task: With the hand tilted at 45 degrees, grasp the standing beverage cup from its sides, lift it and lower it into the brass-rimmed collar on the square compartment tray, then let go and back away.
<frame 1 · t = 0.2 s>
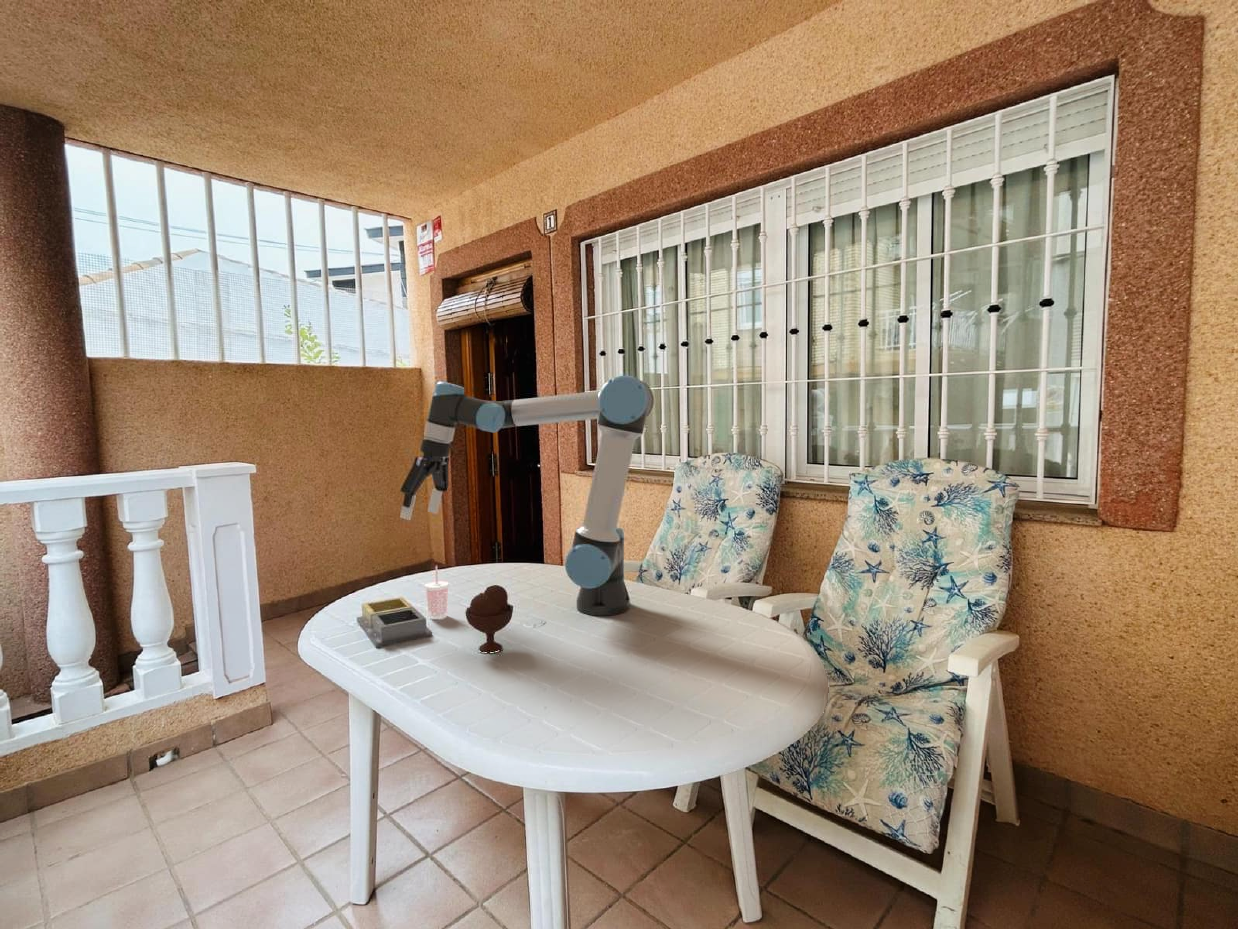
hand: (419, 515, 157), 27 cm above the table, tool tilted 15°, fingers open, 13 cm apart
beverage cup: (437, 617, 156), on the table
square compartment tray: (393, 628, 148), on the table
ice cream bowl: (490, 650, 134), on the table
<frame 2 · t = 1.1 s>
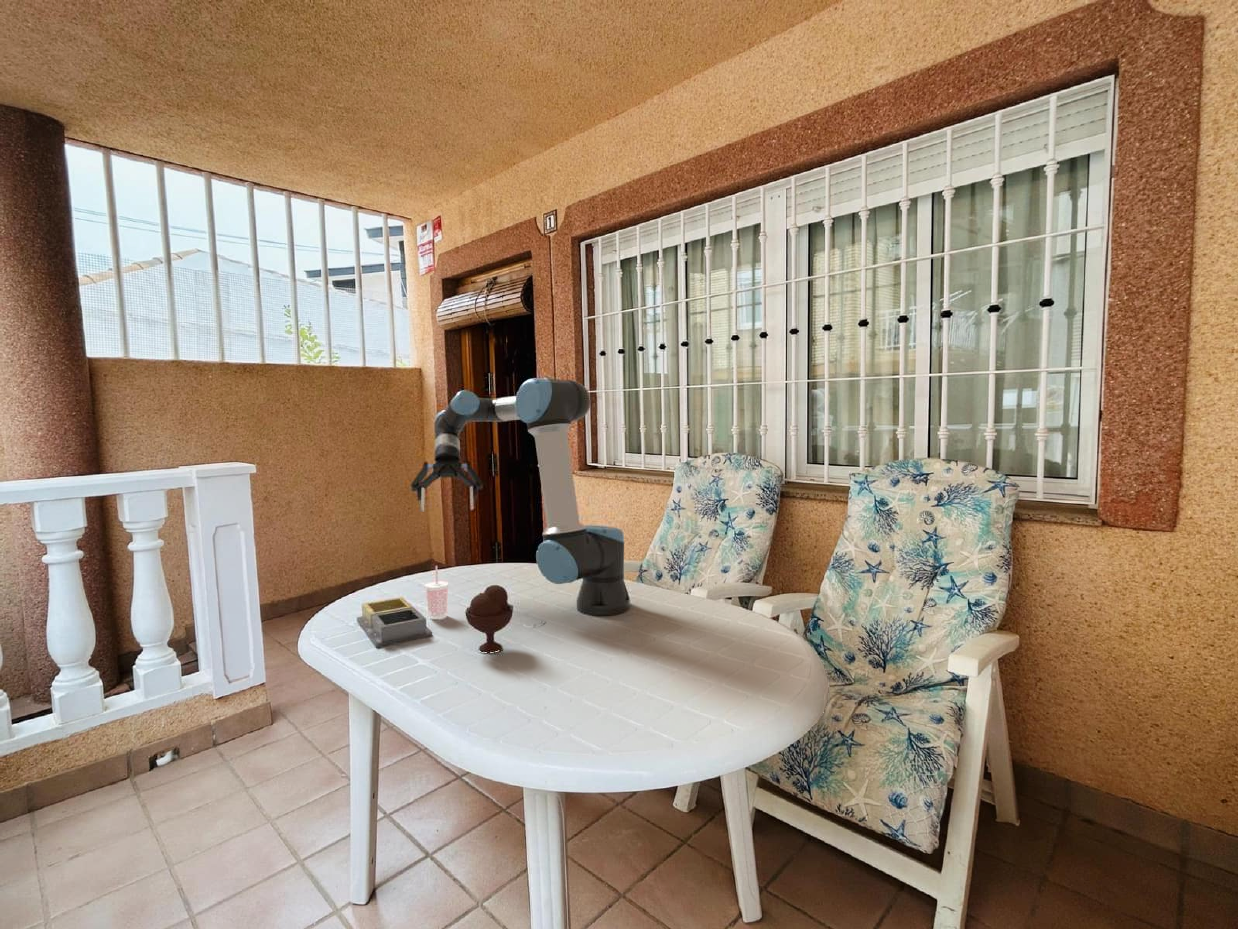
hand: (447, 507, 166), 28 cm above the table, tool tilted 45°, fingers open, 13 cm apart
nothing on the table moved.
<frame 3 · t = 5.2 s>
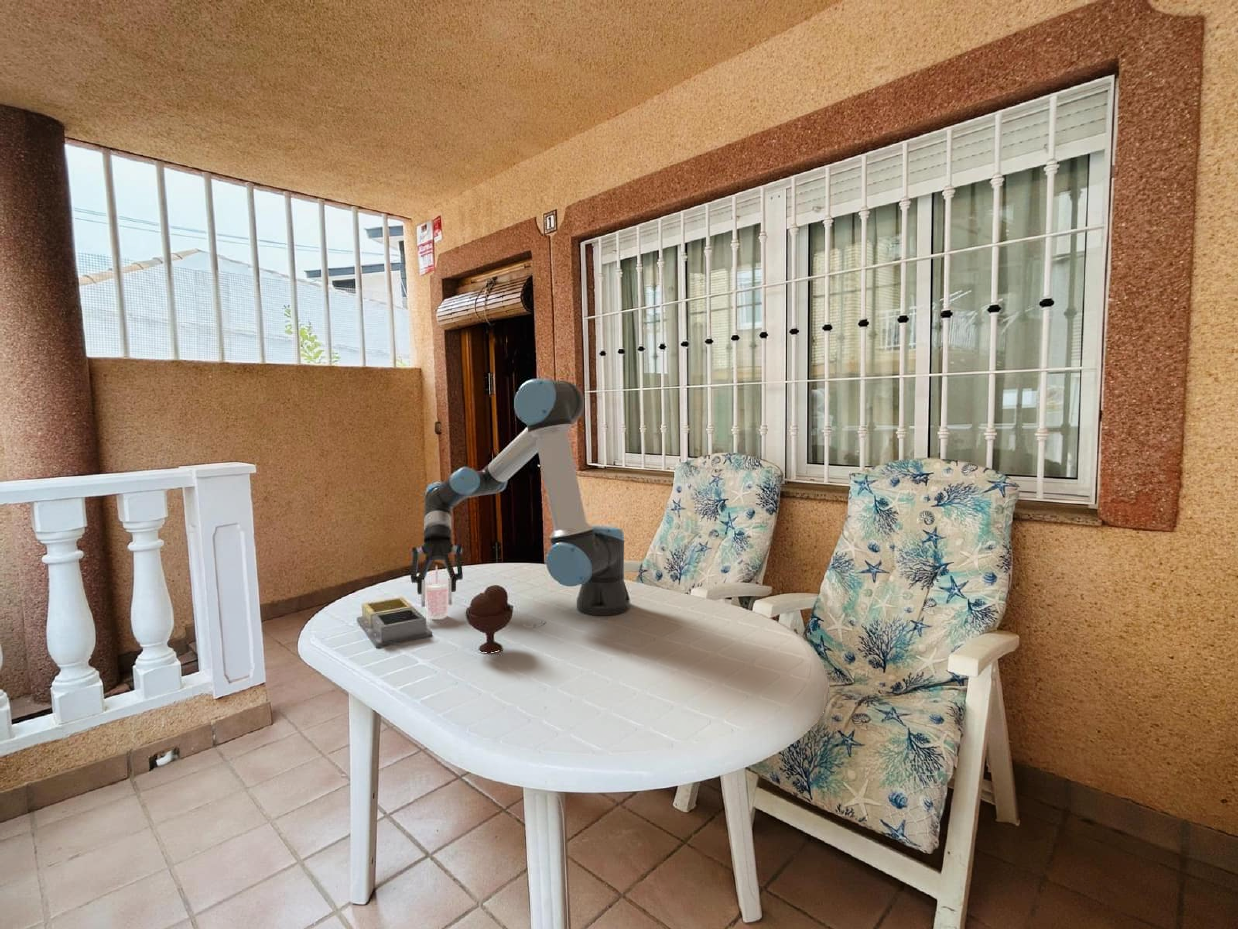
hand: (436, 603, 152), 5 cm above the table, tool tilted 45°, fingers closed on beverage cup, 6 cm apart
beverage cup: (437, 617, 156), on the table, touching gripper
everything else where it was.
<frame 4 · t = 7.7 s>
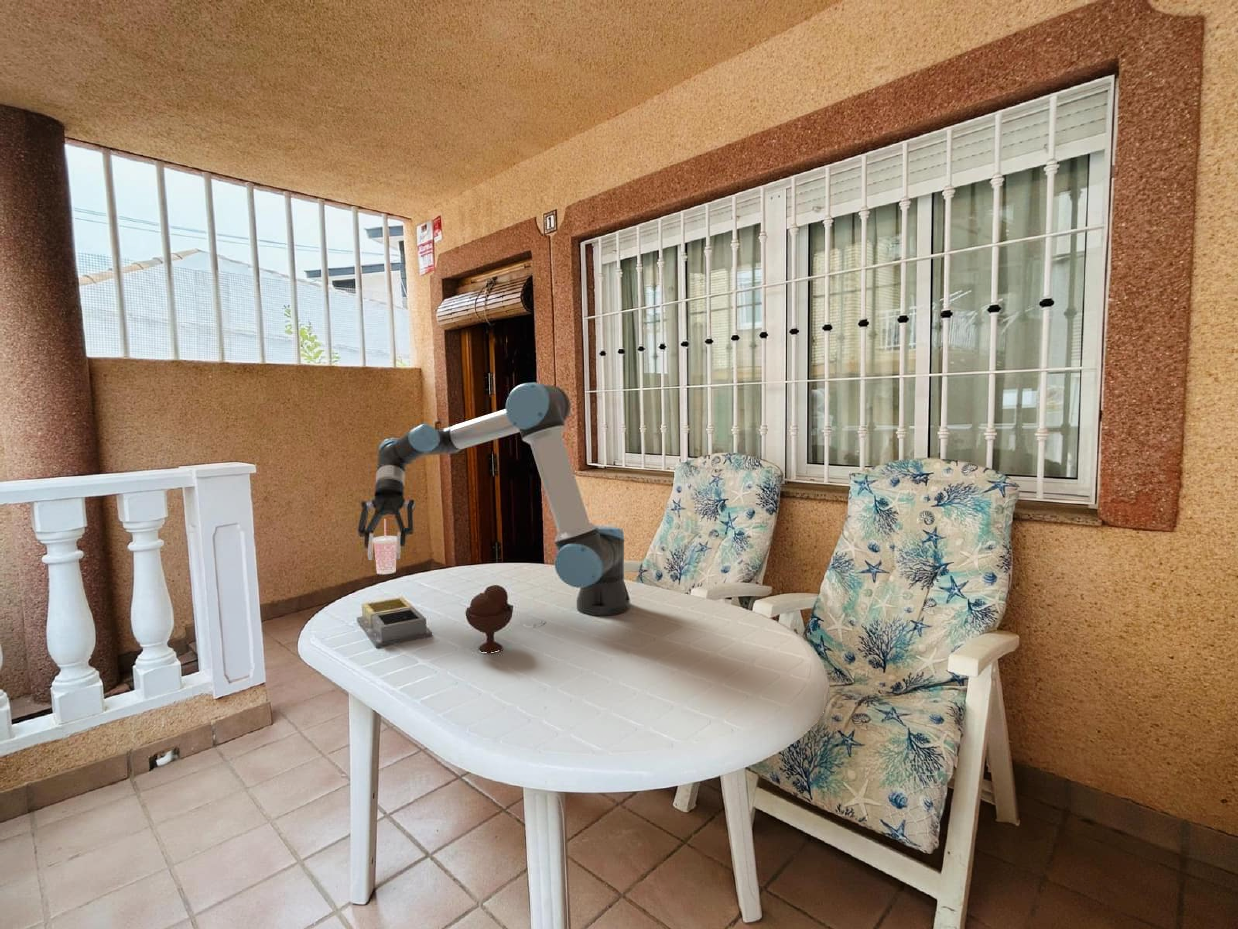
hand: (384, 556, 147), 18 cm above the table, tool tilted 45°, fingers closed on beverage cup, 6 cm apart
beverage cup: (386, 572, 151), point 13 cm above the table, touching gripper
everything else where it was.
when the fingers open (7 cm above the table, at t = 10.0 s): beverage cup drops 1 cm, resting on square compartment tray.
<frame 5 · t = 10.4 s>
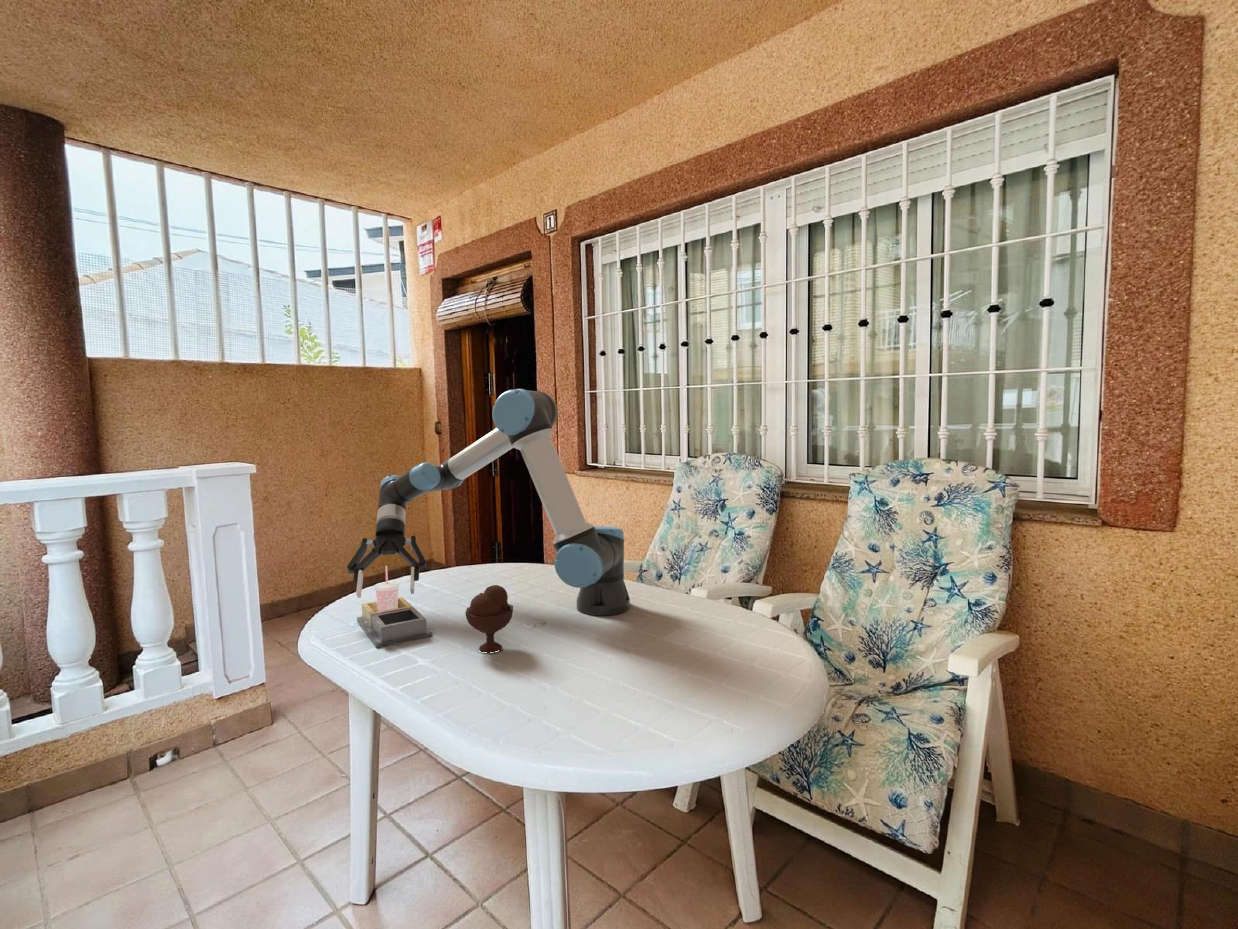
hand: (385, 593, 149), 8 cm above the table, tool tilted 45°, fingers open, 12 cm apart
beverage cup: (388, 619, 152), point 1 cm above the table, touching square compartment tray
everything else where it was.
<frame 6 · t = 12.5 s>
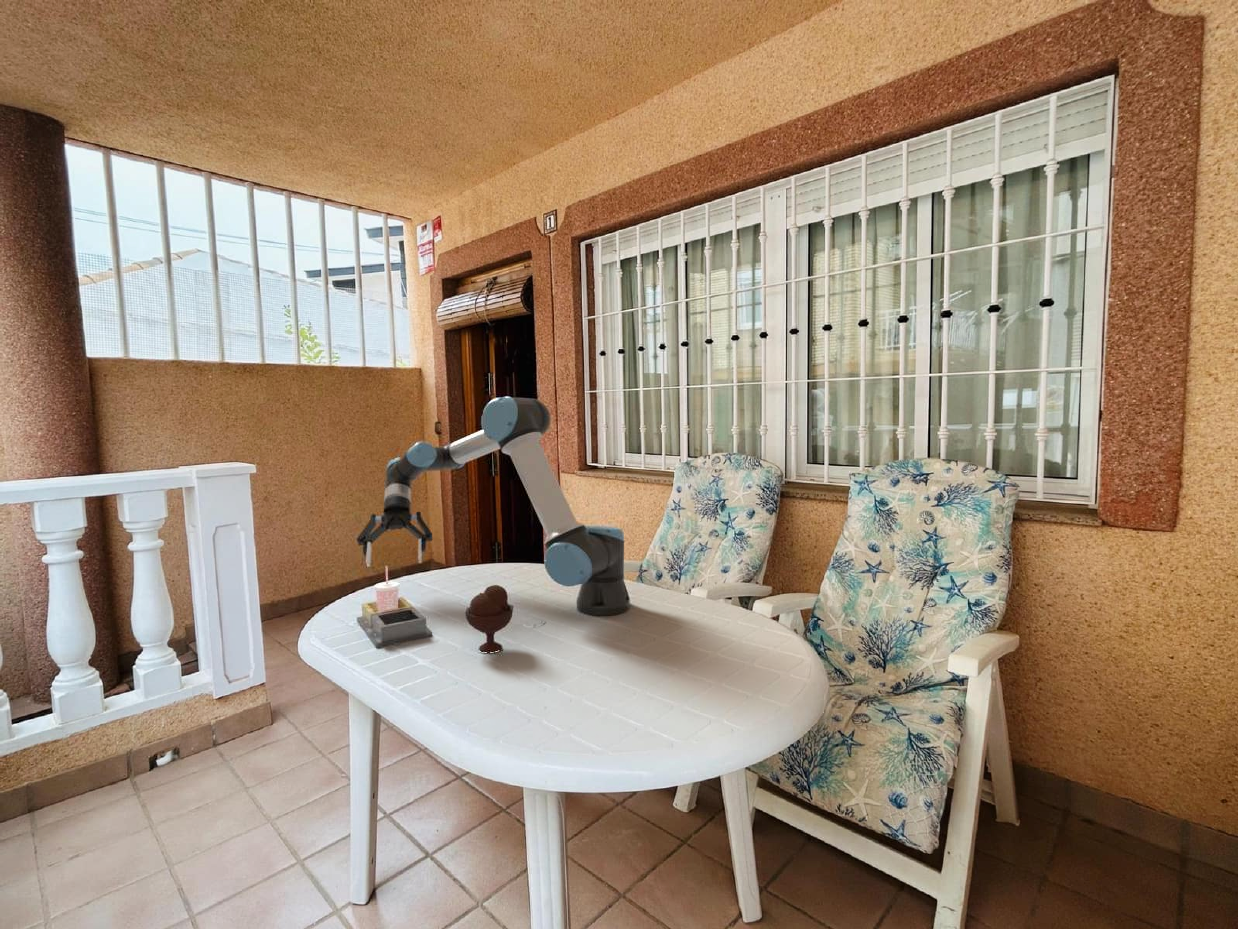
hand: (394, 562, 162), 13 cm above the table, tool tilted 45°, fingers open, 13 cm apart
nothing on the table moved.
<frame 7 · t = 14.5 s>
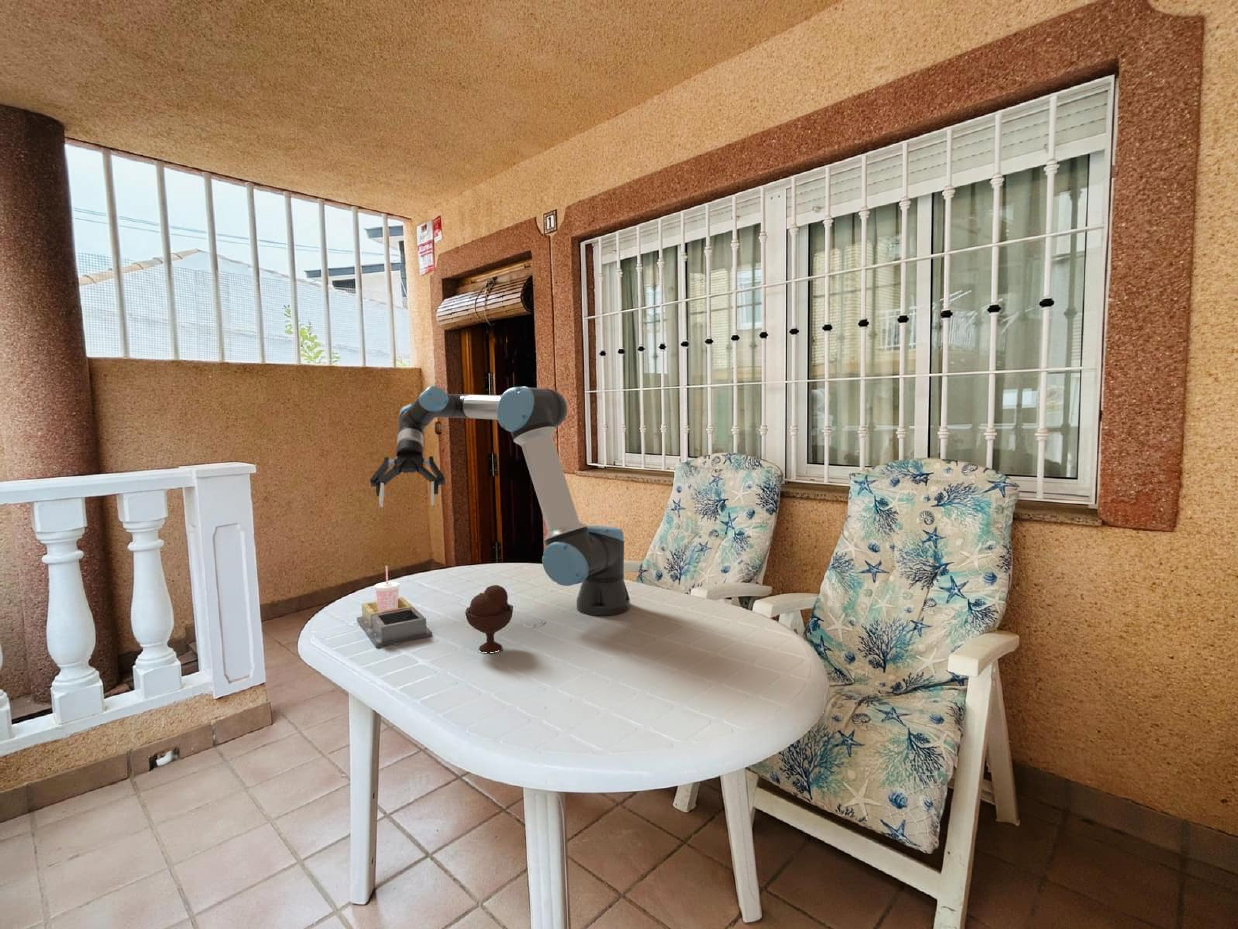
hand: (406, 503, 162), 30 cm above the table, tool tilted 45°, fingers open, 13 cm apart
nothing on the table moved.
at the end: beverage cup inside the target area (0.1 cm from its centre), point 0.8 cm above the table; beverage cup tilted 0°; the gripper is holding nothing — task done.
